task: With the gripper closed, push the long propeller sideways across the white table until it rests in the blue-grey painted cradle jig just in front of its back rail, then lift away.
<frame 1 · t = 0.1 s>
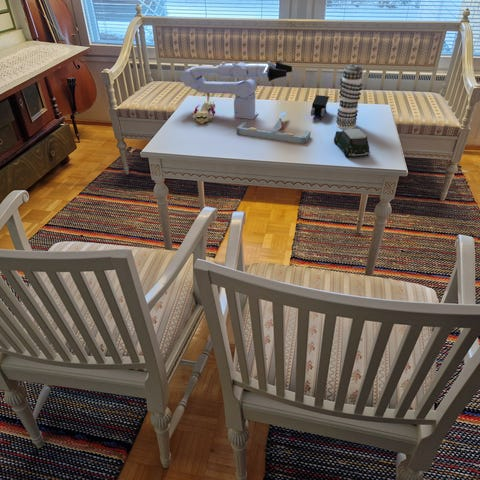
hand: (289, 71, 178), 22 cm above the table, tool horizontal, fingers open, 7 cm apart
miniature car: (350, 150, 165), on the table
figurine character: (318, 116, 196), on the table
cradle jig: (272, 135, 177), on the table
model tower building: (345, 125, 185), on the table
propeller: (279, 128, 184), on the table
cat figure: (205, 116, 199), on the table
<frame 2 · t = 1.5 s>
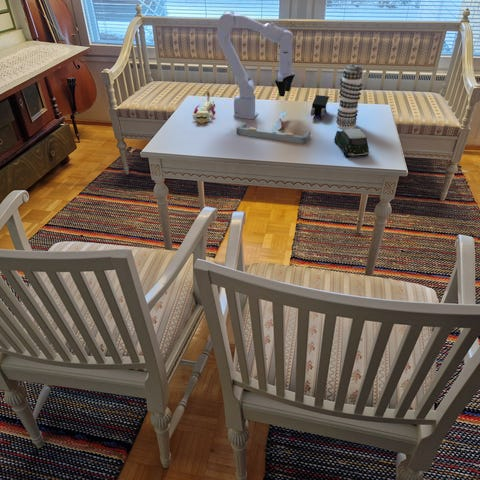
hand: (284, 93, 189), 10 cm above the table, tool pointing down, fingers open, 7 cm apart
nothing on the table moved.
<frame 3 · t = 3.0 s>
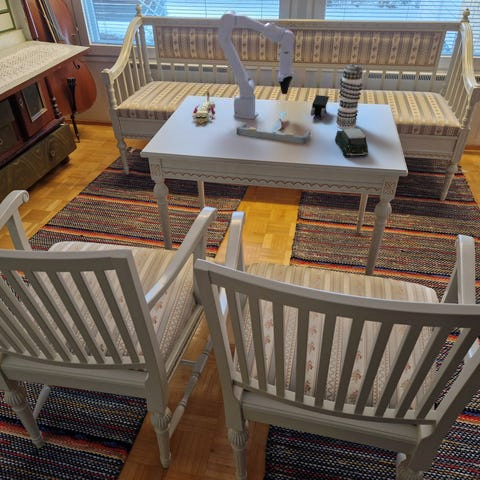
hand: (284, 93, 189), 10 cm above the table, tool pointing down, fingers closed
nothing on the table moved.
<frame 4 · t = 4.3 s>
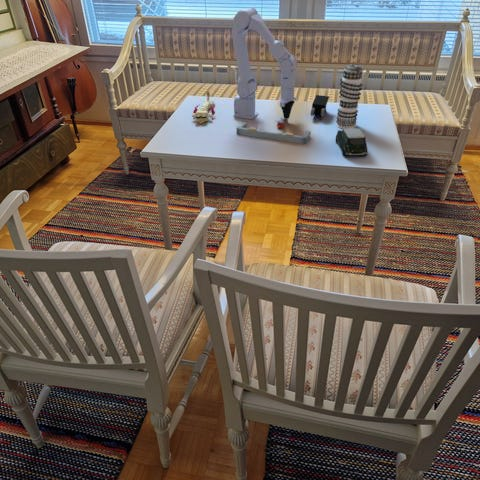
hand: (286, 117, 189), 2 cm above the table, tool pointing down, fingers closed, pressing on propeller
propeller: (279, 127, 184), on the table, touching gripper
everything else where it was.
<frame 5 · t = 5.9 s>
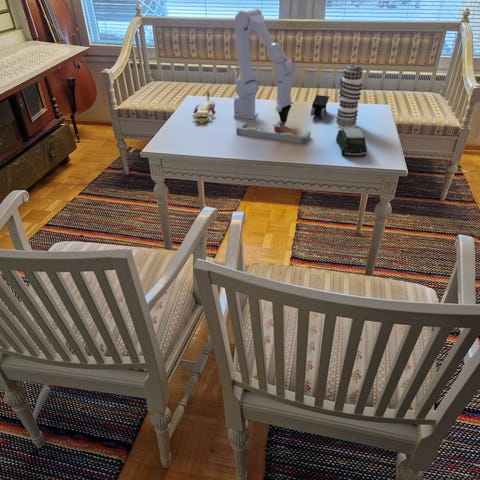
hand: (283, 122, 185), 2 cm above the table, tool pointing down, fingers closed, pressing on propeller
propeller: (276, 131, 180), on the table, touching gripper
everything else where it was.
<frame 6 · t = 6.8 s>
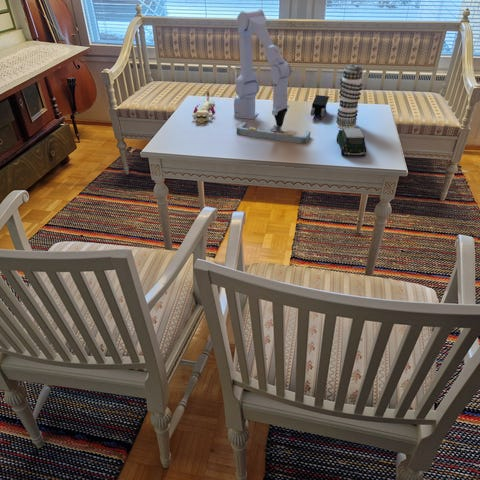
hand: (279, 126, 182), 2 cm above the table, tool pointing down, fingers closed, pressing on propeller
propeller: (273, 135, 177), on the table, touching gripper
everything else where it was.
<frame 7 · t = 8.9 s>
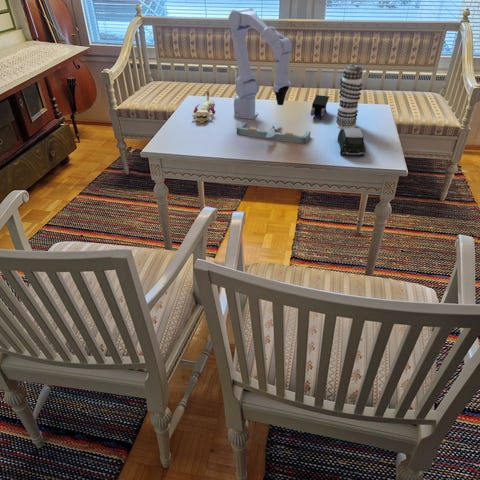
hand: (280, 104, 178), 10 cm above the table, tool pointing down, fingers closed
propeller: (273, 136, 177), on the table, touching cradle jig
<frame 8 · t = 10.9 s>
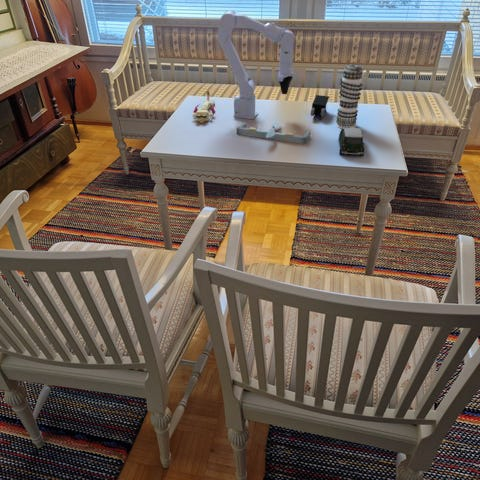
hand: (284, 93, 189), 10 cm above the table, tool pointing down, fingers closed
at the end: propeller inside the target area (1.6 cm from its centre), on the table; propeller on the table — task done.
